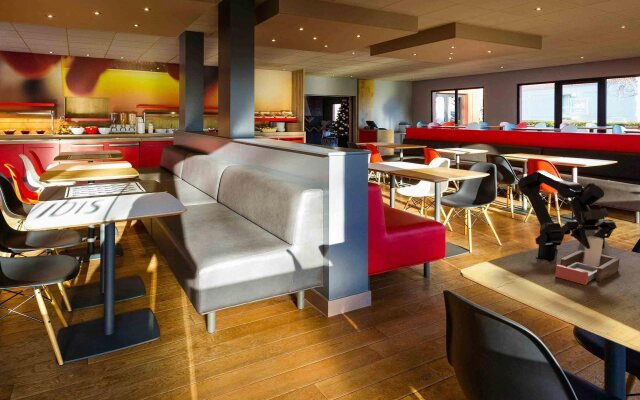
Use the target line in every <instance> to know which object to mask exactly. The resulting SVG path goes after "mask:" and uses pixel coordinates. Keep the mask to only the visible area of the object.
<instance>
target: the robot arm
mask: <svg viewBox="0 0 640 400" xmlns="http://www.w3.org/2000/svg"><path fill="white" fill-rule="evenodd" d="M542 184H545V185H546V186H547V187H550V188H552V189H553V190H556V192H557V194H558V195H559V196H561V197H562V198H563V199H570V200H568V201H567V203H566V205H565V207H566V208H571V211H572V213H573V217H572V220H573V221H566V222H565V223H564V224H562V225H561V223H559V222H554V221H553V219H552V216H551V215H550V212H549V210H548V208H547V206H546V204H545V202H544V200H543V198H542V196H541V193H540V191H541V185H542ZM517 186H518V189H519V190H520V193H522V194H523V195H524V196H525V197H527V198H528V201H529V203H530V205H531V208H532V210H533V211H534V214H535V216H536V219H537V221H538V222H539V225H540V227H539V235H538V236H537V237H535V244H536V245H538V251H537V256H535V258H536V259H539V260H542V261H543V260H544V261H547V262H554V261H555V260H557V259H558V253H559V249H558V246H561V245H562V243H563V240H564V237H565V236H567V235H569V236H570V237H573V238H574V239H575V240H576V241H577V242H579V244H580V243H581V244H583V245H584V246H585V247H586V248H587V249H589V248H590V246H589V242H588V240H587V237H586V235H585V230H594V231H595V233H596V234H594V236H595V237H600V238H602V239H603V245H602V249H603V248H605V240H606V238H605V236H606V235H607V234H609V233H610V232H612V231H613V232H614V231H615V229H617V228H618V227H617V223H616V222H615V221H614V220H613V221H604V222H602V223H601V224H600V225H596V223H598V222H599V220H600V219H601V220H606V219H605V218H608V217H609V212H608V210H607V208H599V209H598V210H597V209H596V210H593V209H591V208H590V207H589V206H593V205H595V204H596V203H597V202H598V201H600V200H601V199H602V198H603V197H604V196H605V191H604V189H602V188H601V187H599V186H598V185H596V184H595V183H594V182H588V184H587V185H586V186H583V185H582V184H581V183H579V182H573V181H567V180H564V179H562V178H559V177H557V176H555V175H553V174H551V173H549V172H547V171H546V170H535V171H533V172H532V173H531V174H528V175H525V176H523V177H520V179H519V180H518V181H517ZM613 232H612V233H613Z"/></svg>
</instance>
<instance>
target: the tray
mask: <svg viewBox="0 0 640 400" xmlns="http://www.w3.org/2000/svg"><path fill="white" fill-rule="evenodd" d="M597 268H598V267H594V266H588V265H585V264H584V263H578V262H575V263H573V264H571V265H569V266H567V267H565V266H561V265H560V264H556V267H555V273H554V277H556V278H559V279H563V280H567V281H570V282H573V283H576V284H577V283H578V284H582V285H584V286H586V285H588V283H589V282H590V281H592V280H594V279H596V275H597Z"/></svg>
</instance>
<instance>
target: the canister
mask: <svg viewBox="0 0 640 400" xmlns="http://www.w3.org/2000/svg"><path fill="white" fill-rule="evenodd" d="M587 240H588V242H589V246H590V248H589V249H587V248H586V247H585V254H584V260H583V263H582V264H585V265H588V266H594V267H596V266H599V264H600V257H601V251H602V245H603V239H602V238H600V237H595V236H588V237H587Z"/></svg>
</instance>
